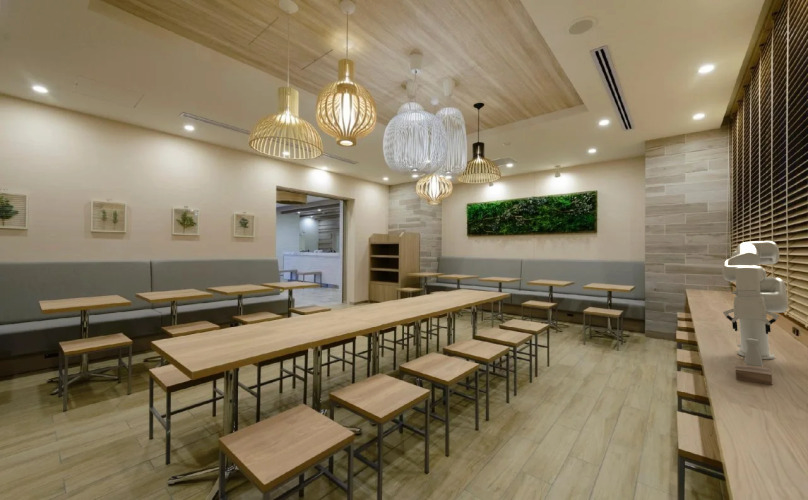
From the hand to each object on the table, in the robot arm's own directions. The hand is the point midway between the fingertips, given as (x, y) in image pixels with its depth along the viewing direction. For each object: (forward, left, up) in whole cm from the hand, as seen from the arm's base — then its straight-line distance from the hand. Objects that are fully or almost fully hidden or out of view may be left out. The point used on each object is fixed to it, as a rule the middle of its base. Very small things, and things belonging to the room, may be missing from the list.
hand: (751, 332), depth 149 cm
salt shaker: (0, 0, -16) cm, 16 cm away
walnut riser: (+13, -10, -16) cm, 23 cm away
